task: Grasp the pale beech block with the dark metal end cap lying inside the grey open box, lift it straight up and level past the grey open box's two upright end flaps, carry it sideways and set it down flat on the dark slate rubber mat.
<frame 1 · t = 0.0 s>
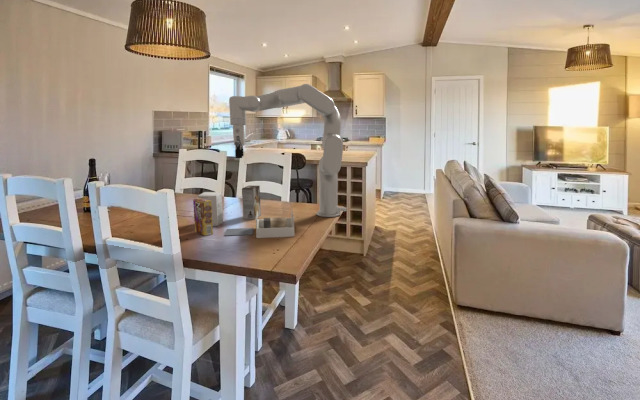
hand: (239, 157, 192), 31 cm above the table, tool pointing down, fingers open, 9 cm apart
candy box: (204, 233, 171), on the table
coffee box: (252, 217, 199), on the table
mat: (239, 232, 172), on the table
supplement box: (211, 224, 187), on the table
grey open box: (275, 231, 173), on the table
block: (275, 225, 172), in the grey open box
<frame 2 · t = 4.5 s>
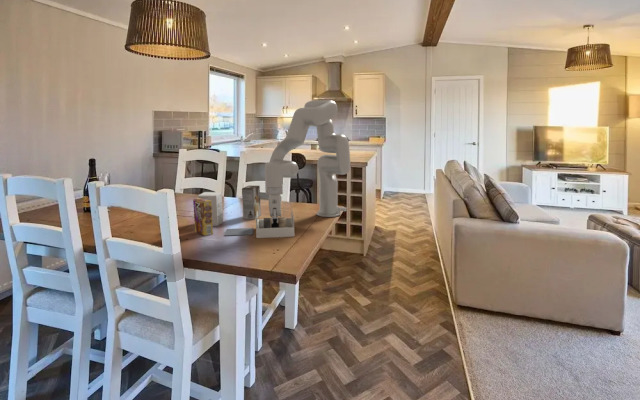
hand: (275, 229, 173), 1 cm above the table, tool pointing down, fingers closed on block, 5 cm apart
block: (275, 225, 172), in the grey open box, touching gripper
everything else where it was.
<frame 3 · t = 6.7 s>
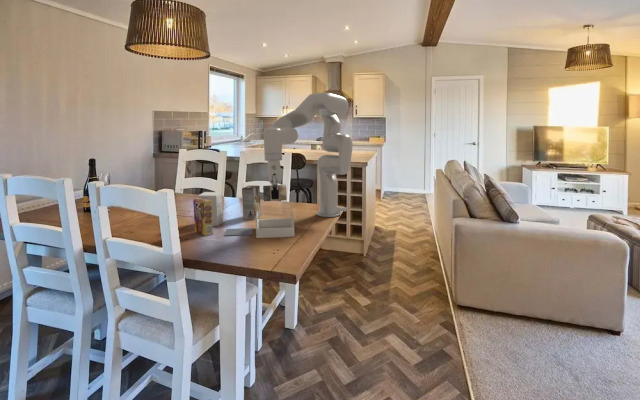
hand: (275, 197, 170), 16 cm above the table, tool pointing down, fingers closed on block, 5 cm apart
block: (274, 192, 169), point 18 cm above the table, touching gripper
everything else where it was.
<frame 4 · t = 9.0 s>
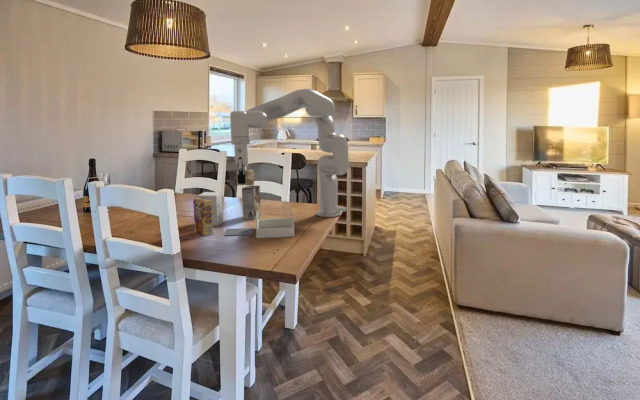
hand: (242, 182, 168), 23 cm above the table, tool pointing down, fingers closed on block, 5 cm apart
block: (241, 177, 167), point 25 cm above the table, touching gripper
everything else where it was.
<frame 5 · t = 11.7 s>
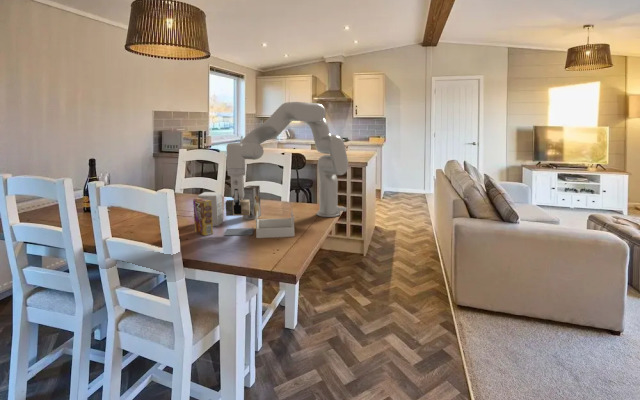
hand: (238, 212, 170), 9 cm above the table, tool pointing down, fingers closed on block, 5 cm apart
block: (237, 207, 170), point 11 cm above the table, touching gripper
everything else where it was.
when the fingers open (3 cm above the table, at t = 13.9 s): block drops 1 cm, resting on mat.
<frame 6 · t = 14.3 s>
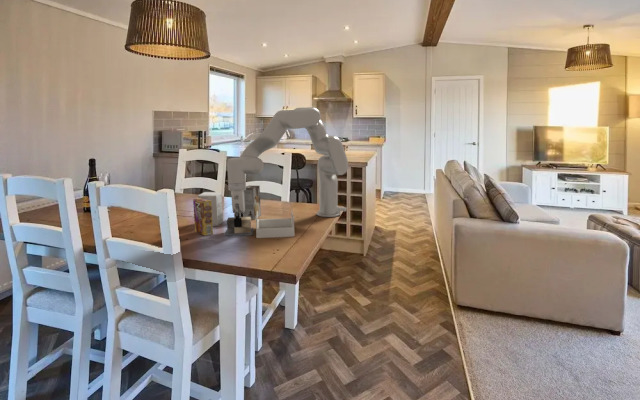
hand: (238, 224, 171), 4 cm above the table, tool pointing down, fingers open, 9 cm apart
block: (239, 224, 172), on the mat
everything else where it was.
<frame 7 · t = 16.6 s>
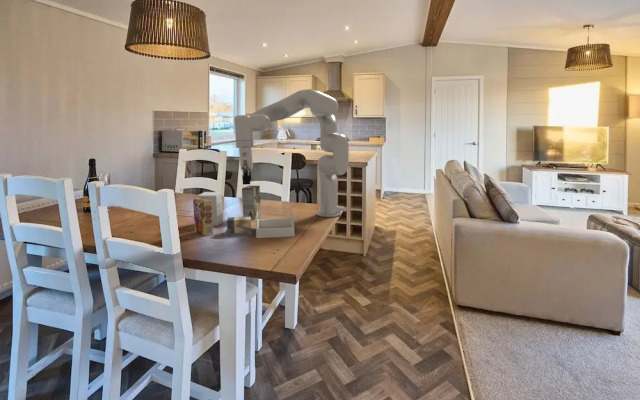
hand: (247, 182, 172), 22 cm above the table, tool pointing down, fingers open, 9 cm apart
nothing on the table moved.
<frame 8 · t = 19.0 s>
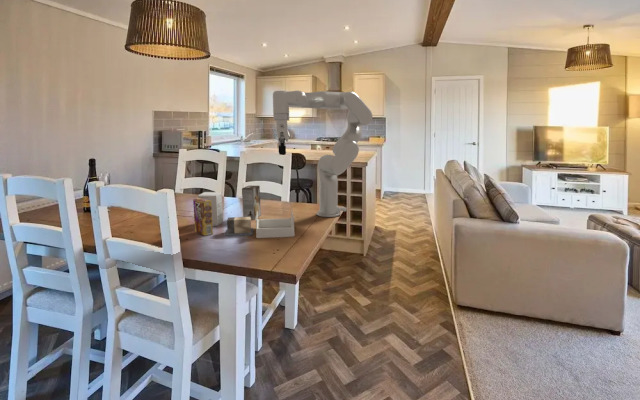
hand: (282, 153, 186), 33 cm above the table, tool pointing down, fingers open, 9 cm apart
nothing on the table moved.
at the end: block 0.1 cm off-centre on the mat, point 3.4 cm above the mat's base; block tilted 0°; the gripper is holding nothing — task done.
